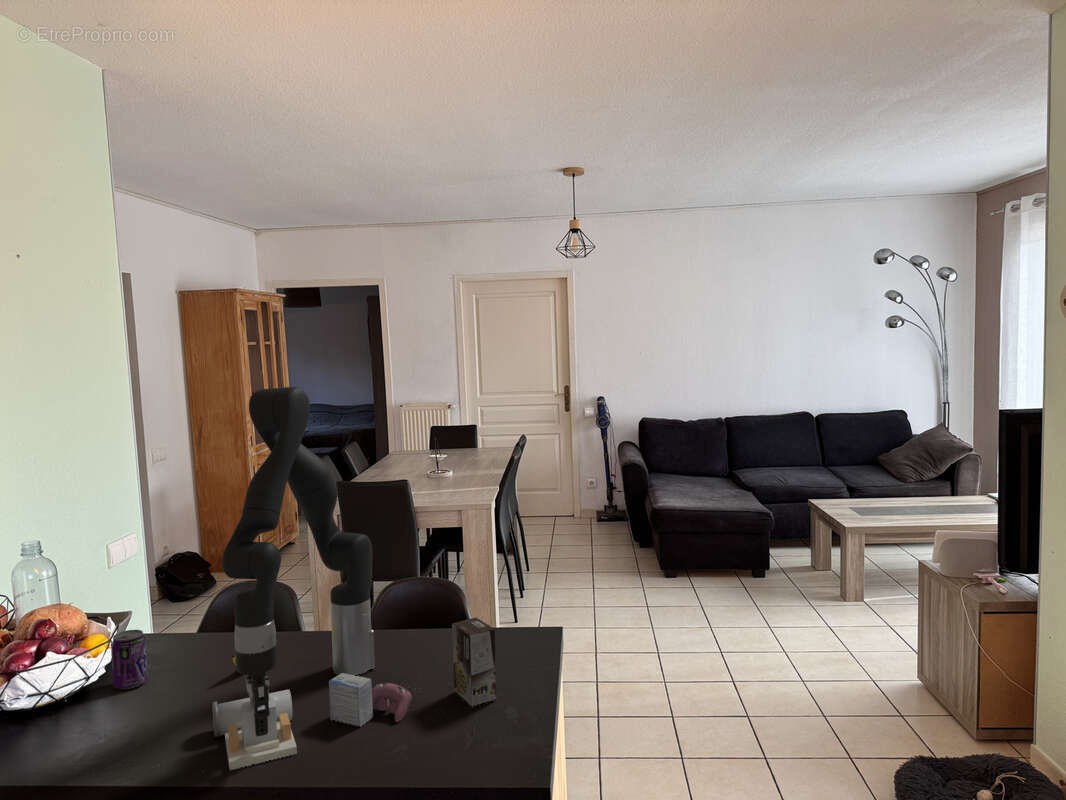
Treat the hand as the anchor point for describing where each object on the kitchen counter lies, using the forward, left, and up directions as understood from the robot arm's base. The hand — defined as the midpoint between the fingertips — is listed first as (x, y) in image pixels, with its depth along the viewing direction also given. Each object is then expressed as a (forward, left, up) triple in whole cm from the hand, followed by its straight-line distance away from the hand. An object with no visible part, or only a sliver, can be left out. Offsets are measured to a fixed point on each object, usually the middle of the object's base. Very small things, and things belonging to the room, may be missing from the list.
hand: (259, 724), depth 146 cm
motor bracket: (0, -3, -4) cm, 5 cm away
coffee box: (-45, 0, -5) cm, 45 cm away
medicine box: (-18, -2, -5) cm, 19 cm away
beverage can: (+24, -43, -5) cm, 49 cm away
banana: (-3, -41, -5) cm, 41 cm away
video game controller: (-26, -1, -5) cm, 26 cm away
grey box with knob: (0, 0, -3) cm, 3 cm away
